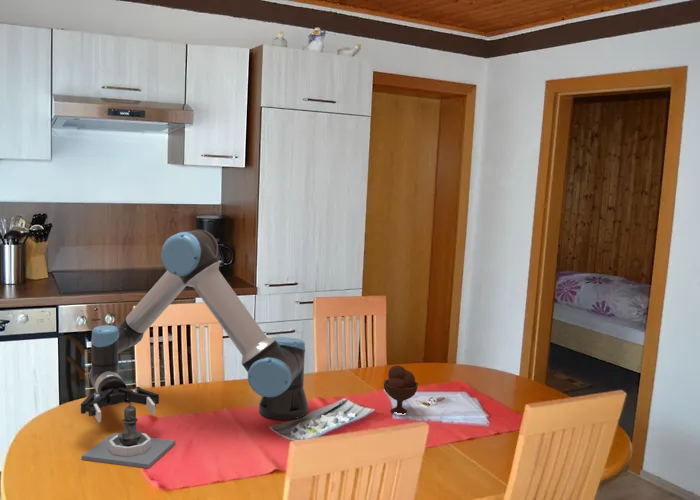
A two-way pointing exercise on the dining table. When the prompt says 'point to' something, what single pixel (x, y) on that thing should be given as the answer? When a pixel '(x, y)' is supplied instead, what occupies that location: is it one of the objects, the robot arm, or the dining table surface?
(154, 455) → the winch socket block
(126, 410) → the chess piece
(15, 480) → the dining table surface
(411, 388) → the ice cream bowl
